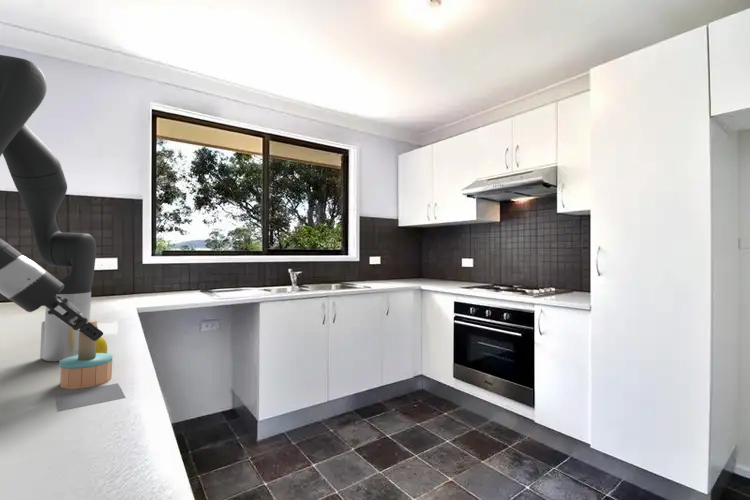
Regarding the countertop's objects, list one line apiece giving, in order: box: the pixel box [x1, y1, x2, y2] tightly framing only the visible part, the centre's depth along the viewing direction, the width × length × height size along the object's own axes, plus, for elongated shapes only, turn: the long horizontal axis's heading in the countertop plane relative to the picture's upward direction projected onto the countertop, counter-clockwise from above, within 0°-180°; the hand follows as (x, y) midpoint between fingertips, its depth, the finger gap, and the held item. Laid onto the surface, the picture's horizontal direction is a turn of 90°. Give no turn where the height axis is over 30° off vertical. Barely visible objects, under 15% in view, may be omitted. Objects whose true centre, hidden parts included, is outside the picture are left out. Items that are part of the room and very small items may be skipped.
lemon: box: [96, 336, 108, 353], centre depth 89 cm, size 6×6×8 cm
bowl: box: [59, 360, 113, 390], centre depth 78 cm, size 9×9×4 cm
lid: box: [58, 319, 113, 369], centre depth 78 cm, size 9×9×9 cm
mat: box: [55, 383, 126, 413], centre depth 70 cm, size 10×10×1 cm
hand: (96, 334), depth 79 cm, fingers open, 8 cm apart
